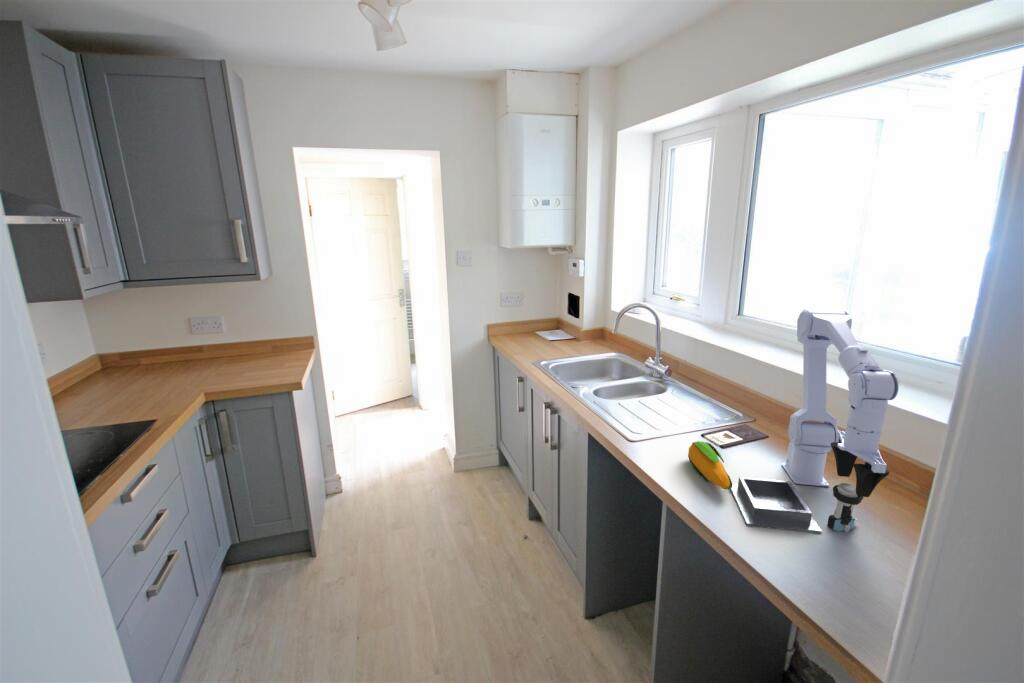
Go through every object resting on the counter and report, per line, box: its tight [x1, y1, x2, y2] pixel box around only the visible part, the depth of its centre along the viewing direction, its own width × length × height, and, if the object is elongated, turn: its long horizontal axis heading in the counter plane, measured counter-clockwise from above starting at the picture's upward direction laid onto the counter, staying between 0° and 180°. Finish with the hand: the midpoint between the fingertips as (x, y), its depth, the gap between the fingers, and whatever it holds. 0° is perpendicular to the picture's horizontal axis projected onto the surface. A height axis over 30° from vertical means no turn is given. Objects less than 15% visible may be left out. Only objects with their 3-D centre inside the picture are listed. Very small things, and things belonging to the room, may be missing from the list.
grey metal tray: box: [729, 476, 823, 534], centre depth 107 cm, size 16×15×4 cm
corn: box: [687, 440, 733, 490], centre depth 119 cm, size 7×8×20 cm
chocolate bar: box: [700, 423, 770, 450], centre depth 141 cm, size 9×1×18 cm
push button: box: [827, 482, 864, 533], centre depth 99 cm, size 7×5×10 cm
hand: (852, 485), depth 97 cm, fingers open, 7 cm apart
